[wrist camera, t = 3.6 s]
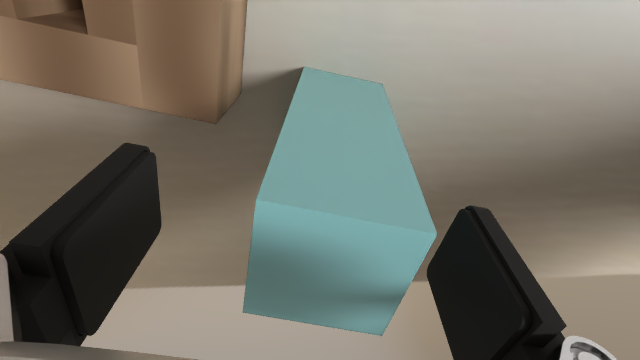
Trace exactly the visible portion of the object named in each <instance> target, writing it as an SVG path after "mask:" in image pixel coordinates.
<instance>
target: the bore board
mask: <svg viewBox="0 0 640 360" xmlns="http://www.w3.org/2000/svg"><path fill="white" fill-rule="evenodd" d="M246 11H247V0H0V79H1V80H6V81H11V82H16V83H21V84H26V85H30V86H35V87H40V88H45V89H50V90H55V91H59V92H64V93H69V94H74V95H79V96H84V97H88V98H93V99H98V100H103V101H108V102H113V103H118V104H122V105H127V106H132V107H137V108H142V109H147V110H151V111H156V112H161V113H166V114H171V115H176V116H180V117H185V118H190V119H195V120H200V121H205V122H210V123H214V124H217V122H218V121H219V120H220V119H221V117H222V116H223V115H224V114H225V112H226V111H227V110H228V109H229V107H230V106H231V105H232V104H233V102H234V101H235V100H236V98H237V97H238V96H239V95H240V93H241V83H242V69H243V55H244V40H245V26H246Z"/></svg>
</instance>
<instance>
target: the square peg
mask: <svg viewBox="0 0 640 360" xmlns="http://www.w3.org/2000/svg"><path fill="white" fill-rule="evenodd" d="M436 236H437V232H436V229H435V227H434V224H433V221H432V218H431V216H430V213H429V210H428V207H427V205H426V202H425V199H424V197H423V194H422V191H421V188H420V186H419V183H418V180H417V177H416V175H415V172H414V169H413V166H412V164H411V161H410V158H409V156H408V153H407V150H406V147H405V145H404V142H403V139H402V136H401V134H400V131H399V128H398V125H397V123H396V120H395V117H394V115H393V112H392V109H391V106H390V104H389V101H388V98H387V95H386V93H385V90H384V87H383V84H379V83H375V82H370V81H366V80H361V79H357V78H352V77H348V76H343V75H339V74H334V73H330V72H325V71H321V70H316V69H312V68H307V67H304V69H303V71H302V74H301V77H300V80H299V82H298V85H297V88H296V91H295V93H294V96H293V99H292V102H291V104H290V107H289V110H288V113H287V116H286V118H285V121H284V124H283V127H282V129H281V132H280V135H279V138H278V140H277V143H276V146H275V149H274V151H273V154H272V157H271V160H270V162H269V165H268V168H267V171H266V173H265V176H264V179H263V182H262V185H261V187H260V190H259V193H258V196H257V198H256V204H255V213H254V221H253V230H252V238H251V247H250V255H249V263H248V272H247V280H246V289H245V298H244V306H243V313H249V314H256V315H261V316H268V317H273V318H279V319H285V320H291V321H297V322H304V323H309V324H315V325H321V326H326V327H332V328H338V329H344V330H350V331H356V332H362V333H368V334H374V335H380V336H382V335H383V333H384V331H385V329H386V328H387V326H388V324H389V322H390V320H391V318H392V317H393V315H394V313H395V311H396V309H397V307H398V306H399V304H400V302H401V300H402V298H403V296H404V295H405V293H406V291H407V289H408V287H409V285H410V284H411V282H412V280H413V278H414V276H415V274H416V273H417V271H418V269H419V267H420V265H421V263H422V262H423V260H424V258H425V256H426V254H427V252H428V251H429V249H430V247H431V245H432V243H433V241H434V240H435V238H436Z"/></svg>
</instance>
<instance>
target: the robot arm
mask: <svg viewBox="0 0 640 360" xmlns="http://www.w3.org/2000/svg"><path fill="white" fill-rule="evenodd" d="M160 229H161V212H160V200H159V189H158V177H157V165H156V156H155V154H154V153H152V152H150V150H149V148H148V147H147V146H141V145H136V144H130V143H124V144H123V145H121V146H120V147H119V148H118V149H117V150H116V151H114V152H113V153H112V154H111V155H110V156H109V157H107V158H106V159H105V160H104V161H103V162H102V163H100V164H99V165H98V166H97V167H96V168H95V169H93V170H92V171H91V172H90V173H89V174H88V175H86V176H85V177H84V178H83V179H82V180H81V181H80V182H78V183H77V184H76V185H75V186H74V187H73V188H71V189H70V190H69V191H68V192H67V193H66V194H64V195H63V196H62V197H61V198H60V199H59V200H57V201H56V202H55V203H54V204H53V205H52V206H50V207H49V208H48V209H47V210H46V211H45V212H43V213H42V214H41V215H40V216H39V217H38V218H37V219H35V220H34V221H33V222H32V223H31V224H30V225H28V226H27V227H26V228H25V229H24V230H23V231H21V232H20V233H19V234H18V235H17V236H16V237H14V238H13V239H12V240H11V241H10V242H9V244H8V245H7V246H6V247H5V248H4V249H3V250H1V251H0V360H196V359H188V358H180V357H172V356H163V355H155V354H147V353H138V352H129V351H119V350H110V349H100V348H91V347H81V344H82V342H83V341H84V340H85V338H86V336H87V335H89V336H91V335H93V334H94V333H96V331H97V330H98V328H99V327H100V325H101V324H102V322H103V321H104V319H105V317H106V316H107V314H108V313H109V311H110V310H111V308H112V306H113V305H114V303H115V302H116V300H117V299H118V297H119V295H120V294H121V292H122V291H123V289H124V288H125V286H126V284H127V283H128V281H129V280H130V278H131V277H132V275H133V273H134V272H135V270H136V269H137V267H138V266H139V264H140V262H141V261H142V259H143V258H144V256H145V255H146V253H147V251H148V250H149V248H150V247H151V245H152V244H153V242H154V240H155V239H156V237H157V236H158V234H159V232H160ZM427 278H428V281H429V284H430V287H431V290H432V293H433V296H434V300H435V303H436V306H437V309H438V312H439V315H440V318H441V322H442V325H443V328H444V331H445V334H446V337H447V340H448V343H449V346H450V350H451V352H452V356H453V359H454V360H617V359H616V358H615V357H613V356H612V354H610V353H609V352H608V351H607V350H605V349H604V348H602V347H601V346H600V345H598V344H596V343H594V342H593V341H591V340H589V339H586V338H583V337H580V336H569V337H567V338H564V336H563V335H562V333H561V331H562V330H563V329H564V328H565V327H566V324H565V323H564V321H563V320H562V318H561V317H560V315H559V314H558V312H557V311H556V309H555V308H554V306H553V305H552V303H551V302H550V300H549V299H548V297H547V296H546V294H545V293H544V291H543V290H542V288H541V287H540V285H539V284H538V282H537V281H536V279H535V278H534V276H533V275H532V273H531V272H530V270H529V269H528V267H527V266H526V264H525V263H524V261H523V260H522V258H521V257H520V255H519V254H518V252H517V251H516V249H515V248H514V246H513V245H512V243H511V242H510V240H509V239H508V237H507V236H506V234H505V233H504V231H503V230H502V228H501V227H500V225H499V224H498V222H497V221H496V219H495V218H494V216H493V215H492V213H491V212H490V211H489V210H488V209H486V208H481V207H475V206H467V207H466V208H465V209H461V210H460V211H459V212H458V214H457V216H456V217H455V219H454V221H453V223H452V224H451V226H450V228H449V230H448V232H447V233H446V235H445V237H444V239H443V241H442V242H441V244H440V246H439V248H438V249H437V251H436V253H435V255H434V257H433V258H432V260H431V262H430V264H429V266H428V268H427Z"/></svg>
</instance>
